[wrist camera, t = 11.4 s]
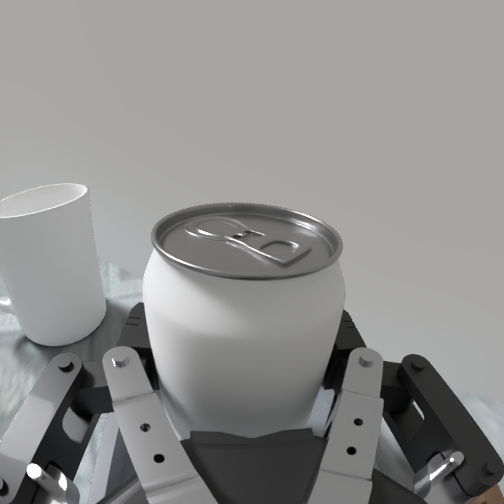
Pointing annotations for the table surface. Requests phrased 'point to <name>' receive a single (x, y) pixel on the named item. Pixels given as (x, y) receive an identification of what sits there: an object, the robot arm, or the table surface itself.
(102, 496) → the grey shallow rectangular tray
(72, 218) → the mug
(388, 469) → the table surface
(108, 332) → the table surface
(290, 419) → the can
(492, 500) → the walnut collar
